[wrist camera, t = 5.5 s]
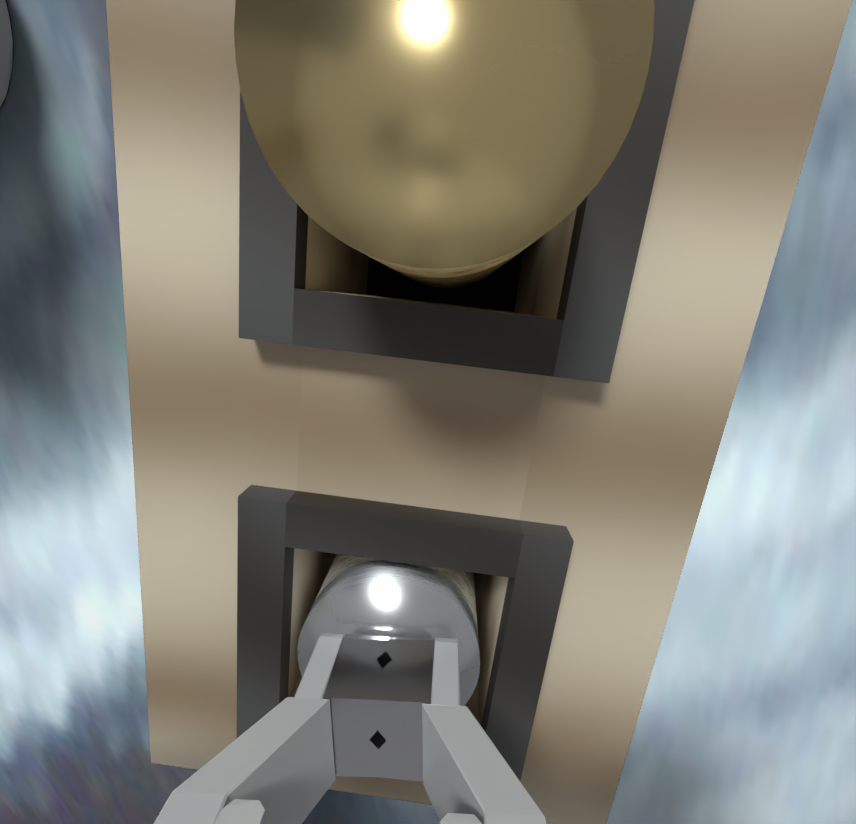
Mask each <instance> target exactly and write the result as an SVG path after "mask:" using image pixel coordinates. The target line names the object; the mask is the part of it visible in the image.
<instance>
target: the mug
mask: <svg viewBox="0 0 856 824" xmlns="http://www.w3.org/2000/svg"><path fill="white" fill-rule="evenodd" d="M12 60H13V39H12V32H11V25H10V18H9V13H8V9H7V5H6V1H5V0H0V107H1V105H2V103H3V101H4V99H5V97H6V94H7V90H8V86H9V81H10V77H11V71H12Z"/></svg>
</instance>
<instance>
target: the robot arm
mask: <svg viewBox="0 0 856 824" xmlns="http://www.w3.org/2000/svg"><path fill="white" fill-rule="evenodd" d="M335 776H348V777H381V778H391V779H402V780H413V781H423V785H424V787H425V790H426V792H427V794H428V797H429V799H430V801H431V804H432V806H433V808H434V811H435V813H436V815H437V818H438V820H439V822H440V824H546V820H545V816H544V815H543V813H542V812H541V811H540V809H539V808H538V806H537V805H536V804H535V802H534V801H533V799H532V798H531V796H530V795H529V794H528V792H527V791H526V789H525V788H524V786H523V785H522V784H521V782H520V781H519V779H518V778H517V776H516V775H515V774H514V772H513V771H512V769H511V768H510V766H509V765H508V764H507V762H506V761H505V759H504V758H503V756H502V755H501V754H500V752H499V751H498V749H497V748H496V746H495V745H494V744H493V742H492V741H491V739H490V738H489V736H488V735H487V734H486V732H485V731H484V729H483V728H482V727H481V725H480V724H479V722H478V721H477V719H476V718H475V717H474V715H473V714H472V712H471V711H470V709H469V708H468V707H467V706H460V672H459V640H458V638H409V637H383V636H369V635H354V634H345V635H344V634H331V633H322V635H321V636H320V637H319V638H318V640H317V643H316V645H315V648H314V650H313V652H312V655H311V657H310V660H309V662H308V665H307V667H306V670H305V672H304V674H303V677H302V679H301V682H300V684H299V687H298V689H297V692H296V694H295V696H294V697H287V698H285V699H284V700H283V701H282V702H280V703H279V704H278V705H277V706H276V707H274V708H273V709H272V710H271V711H270V712H268V713H267V714H266V715H265V716H263V717H262V718H261V719H260V720H259V721H257V722H256V723H255V724H254V725H253V726H251V727H250V728H249V729H248V730H246V731H245V732H244V733H243V734H242V735H240V736H239V737H238V738H237V739H236V740H234V741H233V742H232V743H231V744H230V745H228V746H227V747H226V748H225V749H223V750H222V751H221V752H220V753H219V754H217V755H216V756H215V757H214V758H213V759H211V760H210V761H209V762H208V763H206V764H205V765H204V766H203V767H202V768H200V769H199V770H198V771H197V772H196V773H194V774H193V775H192V776H191V777H189V778H188V779H187V780H186V781H185V782H183V783H182V784H181V785H180V786H179V787H177V788H176V789H175V790H174V791H172V793H171V795H170V796H169V798H168V800H167V802H166V803H165V805H164V807H163V808H162V810H161V812H160V814H159V815H158V817H157V819H156V820H155V822H154V824H302V823H303V822H304V820H305V819H306V818H307V816H308V815H309V814H310V812H311V811H312V810H313V808H314V807H315V806H316V804H317V803H318V802H319V801H320V799H321V798H322V797H323V795H324V794H325V793H326V791H327V790H328V789H329V787H330V786H331V785H332V783H333V782H334V781H335V780H336V779H335Z"/></svg>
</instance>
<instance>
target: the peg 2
mask: <svg viewBox="0 0 856 824" xmlns="http://www.w3.org/2000/svg"><path fill="white" fill-rule="evenodd" d="M322 633H331V634H344V635H345V634H354V635H369V636H383V637H409V638H458V640H459V672H460V706H464V705H465V704H466V703H467V702H468V700H469V699H470V697H471V696H472V694H473V692H474V690H475V687H476V685H477V682H478V678H479V672H480V654H479V640H478V626H477V612H476V598H475V585H474V573H473V572H466V571H459V570H451V569H444V568H436V567H429V566H422V565H414V564H407V563H400V562H392V561H385V560H378V559H370V558H363V557H355V556H348V555H341V554H336V556H335V559H334V561H333V563H332V565H331V567H330V569H329V571H328V574H327V576H326V578H325V580H324V582H323V584H322V586H321V589H320V591H319V593H318V595H317V597H316V599H315V601H314V604H313V606H312V608H311V610H310V612H309V614H308V617H307V619H306V621H305V623H304V625H303V627H302V629H301V633H300V636H299V640H298V648H297V653H298V663H299V669H300V672H301V675H302V677H303V674H304V672H305V670H306V667H307V665H308V662H309V660H310V657H311V655H312V652H313V650H314V648H315V645H316V643H317V640H318V638H319V637H320V636H321V635H322Z"/></svg>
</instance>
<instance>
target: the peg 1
mask: <svg viewBox="0 0 856 824" xmlns="http://www.w3.org/2000/svg"><path fill="white" fill-rule="evenodd" d="M653 32H654V0H235V18H234V41H235V60H236V66H237V72H238V79H239V85H240V91H241V94H242V98H243V102H244V105H245V109H246V113H247V116H248V120H249V122H250V125H251V127H252V130H253V132H254V135H255V137H256V140H257V142H258V145H259V147H260V149H261V151H262V153H263V154H264V156H265V158H266V160H267V162H268V164H269V166H270V167H271V169H272V171H273V173H274V174H275V175H276V177H277V178H278V180H279V181H280V183H281V184H282V186H283V187H284V188H285V190H286V191H287V193H288V194H289V195H290V196H291V197H292V198H293V200H294V201H295V202H296V203H297V204H298V205H299V206H300V207H301V209H302V210H303V211H304V212H305V213H306V214H307V215H308V216H309V217H311V218H312V219H313V220H314V221H315V222H316V223H317V224H319V225H320V226H321V227H322V228H323V229H324V230H325V231H327V232H328V233H330V234H331V235H333V236H334V237H336V238H337V239H339V240H340V241H342V242H343V243H345V244H346V245H348V246H350V247H352V248H354V249H356V250H358V251H360V252H361V253H363V254H365V255H367V256H369V257H371V258H373V259H375V260H377V261H378V262H380V263H382V264H384V265H386V266H388V267H390V268H392V269H393V270H395V271H397V272H399V273H401V274H403V275H405V276H407V277H409V278H411V279H413V280H415V281H417V282H419V283H422V284H425V285H429V286H434V287H443V288H451V287H460V286H465V285H469V284H472V283H474V282H477V281H479V280H481V279H483V278H485V277H487V276H489V275H490V274H492V273H493V272H494V271H496V270H497V269H499V268H500V267H501V266H503V265H504V264H505V263H507V262H508V261H509V260H511V259H512V258H513V257H515V256H516V255H517V254H519V253H520V252H521V251H523V250H524V249H526V248H527V247H528V246H530V245H531V244H532V243H534V242H535V241H536V240H538V239H539V238H540V237H542V236H543V235H544V234H546V233H547V232H548V231H550V230H551V229H552V228H554V227H555V226H556V225H558V224H559V223H560V222H561V221H562V220H563V219H564V218H566V217H567V216H568V215H569V214H570V213H571V212H572V211H573V210H574V209H575V208H577V207H578V206H579V205H580V203H581V202H582V201H583V200H584V199H585V198H586V197H587V195H588V194H589V193H590V192H591V191H592V190H593V188H594V187H595V186H596V185H597V184H598V182H599V181H600V179H601V178H602V176H603V175H604V174H605V172H606V171H607V169H608V168H609V166H610V165H611V163H612V162H613V160H614V159H615V157H616V155H617V153H618V151H619V149H620V147H621V145H622V143H623V142H624V140H625V138H626V136H627V134H628V132H629V130H630V127H631V124H632V122H633V119H634V117H635V114H636V112H637V109H638V106H639V104H640V101H641V97H642V93H643V89H644V86H645V82H646V78H647V74H648V70H649V64H650V57H651V50H652V44H653Z"/></svg>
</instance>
